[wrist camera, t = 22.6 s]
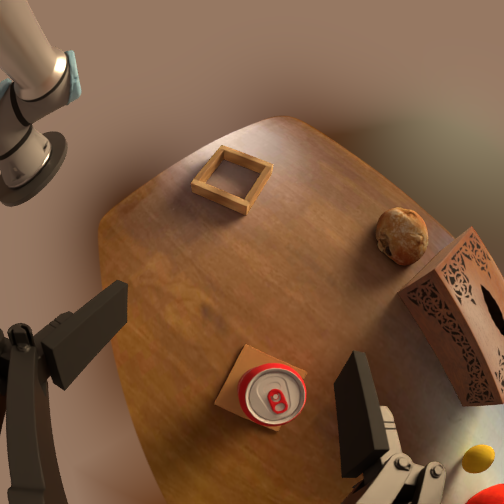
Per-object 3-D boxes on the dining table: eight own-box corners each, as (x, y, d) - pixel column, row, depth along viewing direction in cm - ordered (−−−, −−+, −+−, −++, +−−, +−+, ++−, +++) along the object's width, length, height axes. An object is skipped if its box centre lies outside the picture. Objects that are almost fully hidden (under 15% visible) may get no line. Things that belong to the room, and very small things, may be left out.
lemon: (458, 445, 27) (489, 448, 20) (475, 441, 27) (504, 443, 20) (450, 472, 25) (479, 478, 18) (468, 467, 25) (496, 472, 17)
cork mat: (213, 403, 31) (213, 403, 31) (244, 344, 35) (245, 343, 34) (277, 431, 30) (277, 431, 30) (306, 371, 34) (307, 371, 33)
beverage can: (275, 359, 34) (296, 351, 23) (292, 401, 31) (321, 412, 21) (229, 375, 32) (228, 376, 22) (247, 418, 30) (254, 440, 19)
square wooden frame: (191, 192, 44) (190, 182, 42) (221, 154, 48) (221, 144, 46) (246, 215, 43) (247, 206, 41) (271, 173, 47) (273, 164, 45)
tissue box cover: (397, 292, 39) (434, 268, 30) (439, 251, 43) (471, 225, 34) (462, 406, 31) (503, 403, 22) (496, 353, 35) (532, 342, 26)
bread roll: (360, 238, 47) (366, 227, 39) (396, 201, 46) (406, 185, 38) (397, 277, 44) (409, 274, 37) (431, 239, 43) (447, 229, 36)
